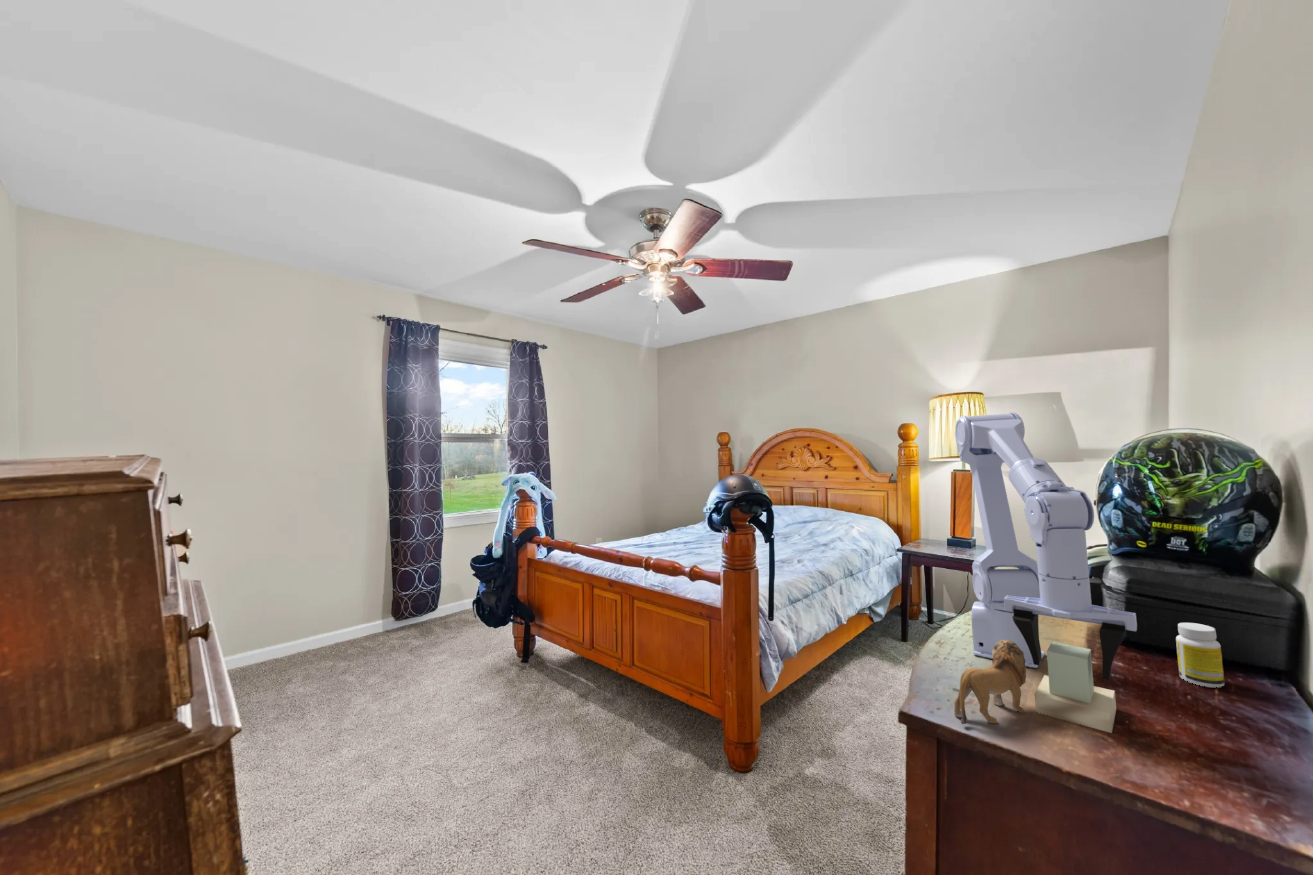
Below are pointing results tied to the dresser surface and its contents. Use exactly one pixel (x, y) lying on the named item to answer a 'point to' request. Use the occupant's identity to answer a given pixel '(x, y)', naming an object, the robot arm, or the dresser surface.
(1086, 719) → the pale maple block
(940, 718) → the dresser surface
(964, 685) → the lion figurine
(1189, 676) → the supplement bottle
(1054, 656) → the sage green block
